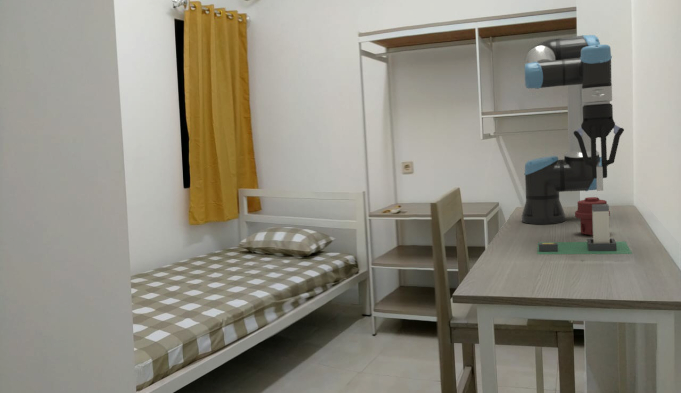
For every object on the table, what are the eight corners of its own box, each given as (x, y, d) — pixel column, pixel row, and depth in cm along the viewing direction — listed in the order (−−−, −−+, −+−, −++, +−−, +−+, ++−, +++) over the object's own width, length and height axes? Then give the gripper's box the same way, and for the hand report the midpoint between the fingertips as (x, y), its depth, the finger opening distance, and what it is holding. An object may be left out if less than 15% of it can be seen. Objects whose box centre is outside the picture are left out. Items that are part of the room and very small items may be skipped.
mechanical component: (606, 233, 196) (613, 239, 186) (573, 234, 198) (578, 241, 188) (605, 195, 194) (612, 199, 185) (572, 196, 196) (577, 200, 187)
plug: (593, 246, 174) (591, 204, 173) (608, 246, 173) (607, 203, 171) (594, 249, 170) (592, 206, 169) (610, 249, 169) (608, 206, 168)
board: (538, 245, 186) (537, 235, 185) (625, 244, 178) (625, 233, 178) (537, 257, 171) (536, 246, 170) (632, 257, 163) (632, 245, 163)
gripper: (572, 105, 166) (575, 192, 168) (625, 101, 161) (627, 190, 164) (571, 105, 173) (574, 189, 175) (622, 101, 169) (624, 187, 171)
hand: (599, 190), depth 170 cm, fingers closed
